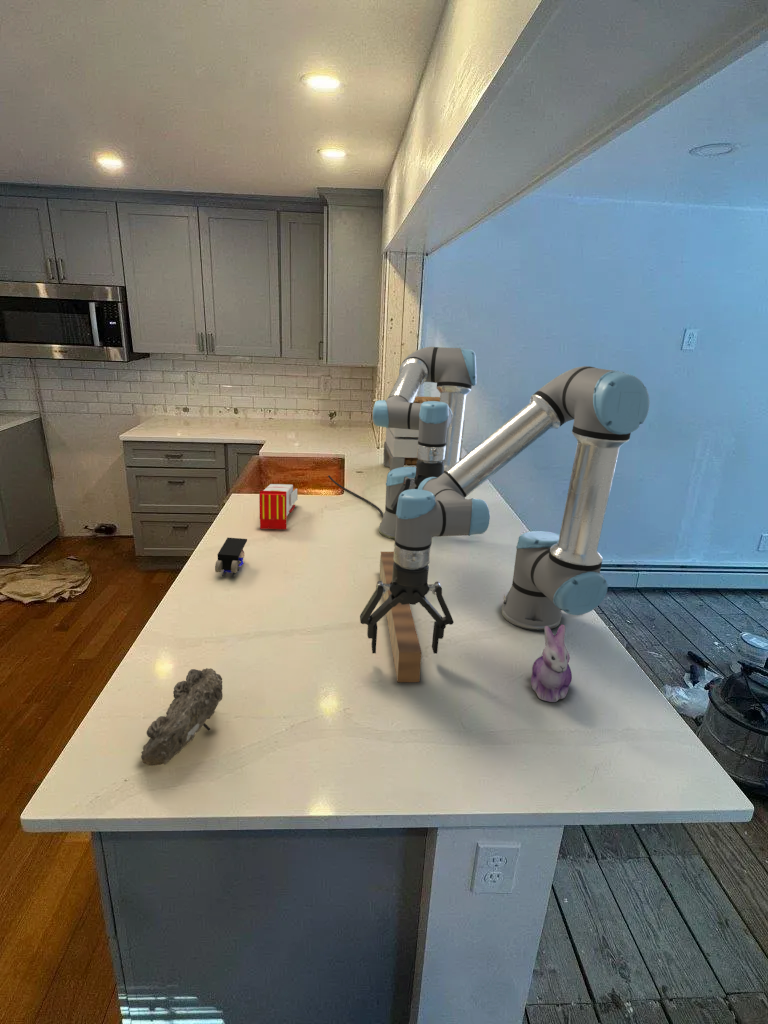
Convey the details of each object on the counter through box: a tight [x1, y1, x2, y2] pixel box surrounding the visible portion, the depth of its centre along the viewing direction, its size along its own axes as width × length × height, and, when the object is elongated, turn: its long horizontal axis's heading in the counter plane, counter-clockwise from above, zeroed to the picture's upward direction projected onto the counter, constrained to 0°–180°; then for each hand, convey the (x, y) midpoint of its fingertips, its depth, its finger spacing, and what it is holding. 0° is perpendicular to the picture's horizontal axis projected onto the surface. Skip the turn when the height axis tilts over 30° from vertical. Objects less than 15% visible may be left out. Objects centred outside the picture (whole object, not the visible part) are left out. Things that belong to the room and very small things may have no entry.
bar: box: [379, 551, 422, 683], centre depth 144 cm, size 52×5×8 cm, turn 5°
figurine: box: [530, 624, 573, 703], centre depth 118 cm, size 9×10×15 cm
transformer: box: [383, 395, 465, 472], centre depth 268 cm, size 34×33×41 cm
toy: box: [258, 483, 299, 530], centre depth 210 cm, size 12×13×30 cm
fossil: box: [140, 667, 224, 767], centre depth 103 cm, size 22×10×15 cm
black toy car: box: [214, 537, 248, 578], centre depth 166 cm, size 7×8×15 cm
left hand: (425, 533), depth 160 cm, fingers open, 13 cm apart
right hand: (404, 650), depth 126 cm, fingers open, 13 cm apart
